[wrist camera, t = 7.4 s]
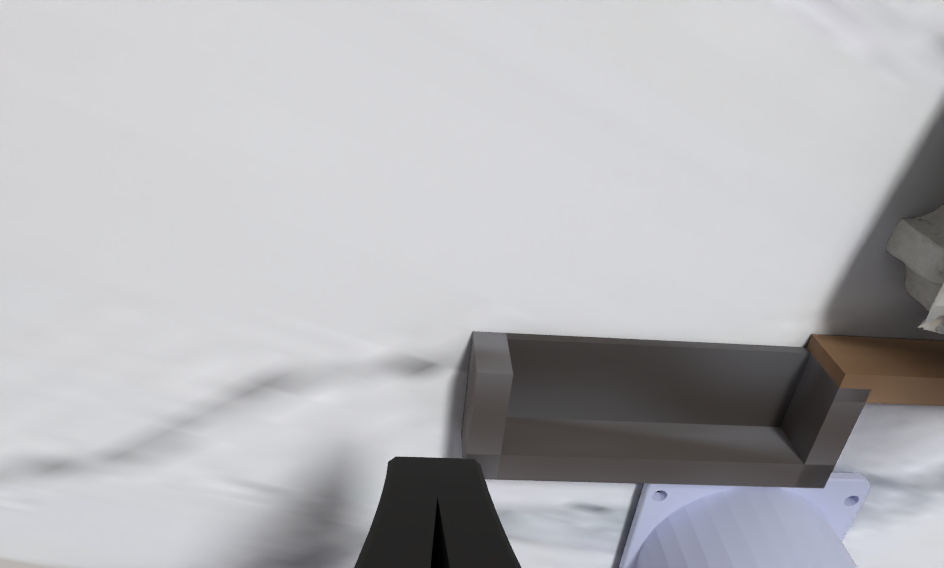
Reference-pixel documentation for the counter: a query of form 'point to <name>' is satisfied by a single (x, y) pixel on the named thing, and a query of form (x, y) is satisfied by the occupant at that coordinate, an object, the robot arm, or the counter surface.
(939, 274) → the egg carton
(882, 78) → the counter surface
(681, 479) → the dark tray
